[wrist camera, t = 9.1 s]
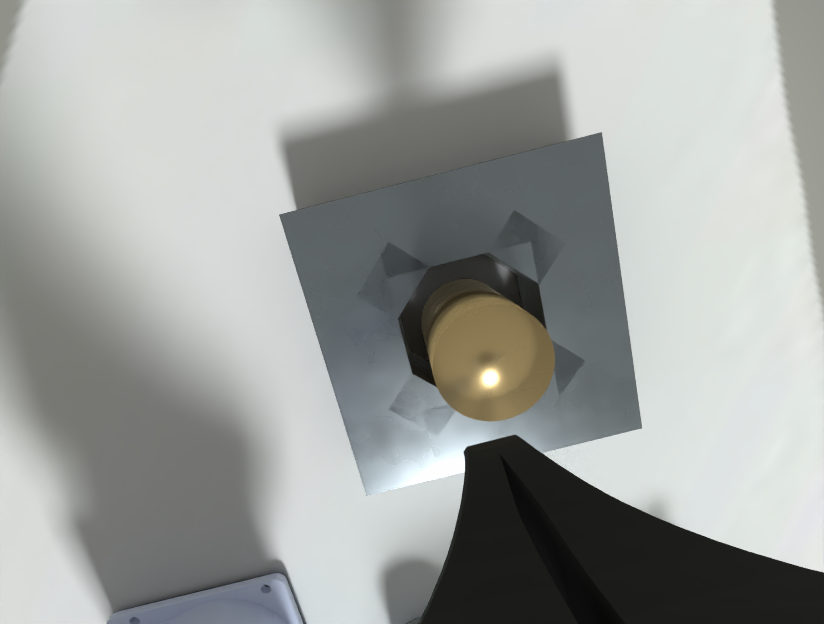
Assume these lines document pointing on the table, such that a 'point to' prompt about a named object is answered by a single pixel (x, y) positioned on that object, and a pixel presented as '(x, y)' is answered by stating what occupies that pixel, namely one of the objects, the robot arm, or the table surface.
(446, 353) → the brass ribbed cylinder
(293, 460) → the table surface
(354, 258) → the plate
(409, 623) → the sleeve
